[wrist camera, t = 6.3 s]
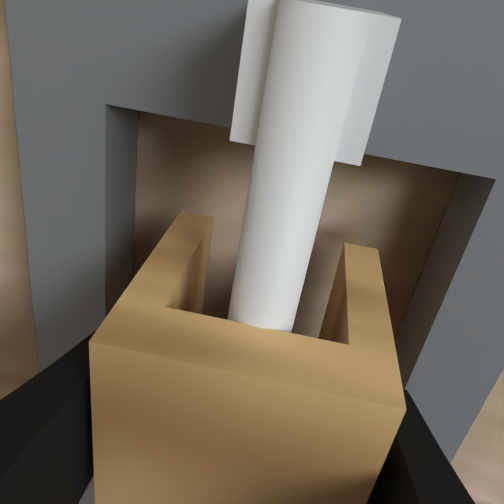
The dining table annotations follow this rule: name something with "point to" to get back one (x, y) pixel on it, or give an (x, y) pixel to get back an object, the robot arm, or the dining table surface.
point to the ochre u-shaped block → (240, 389)
